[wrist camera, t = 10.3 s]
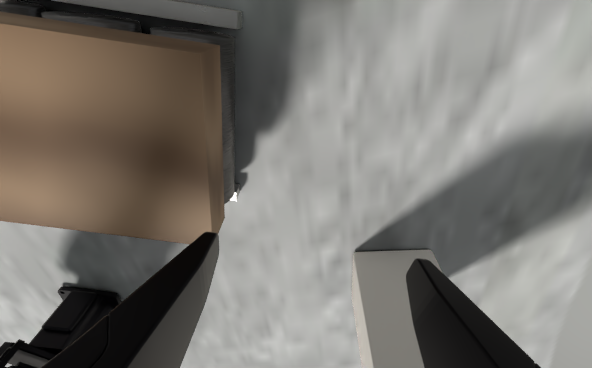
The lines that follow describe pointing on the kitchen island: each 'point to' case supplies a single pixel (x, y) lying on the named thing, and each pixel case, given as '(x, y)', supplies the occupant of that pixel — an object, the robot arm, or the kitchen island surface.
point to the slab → (109, 130)
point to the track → (163, 5)
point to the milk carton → (385, 308)
